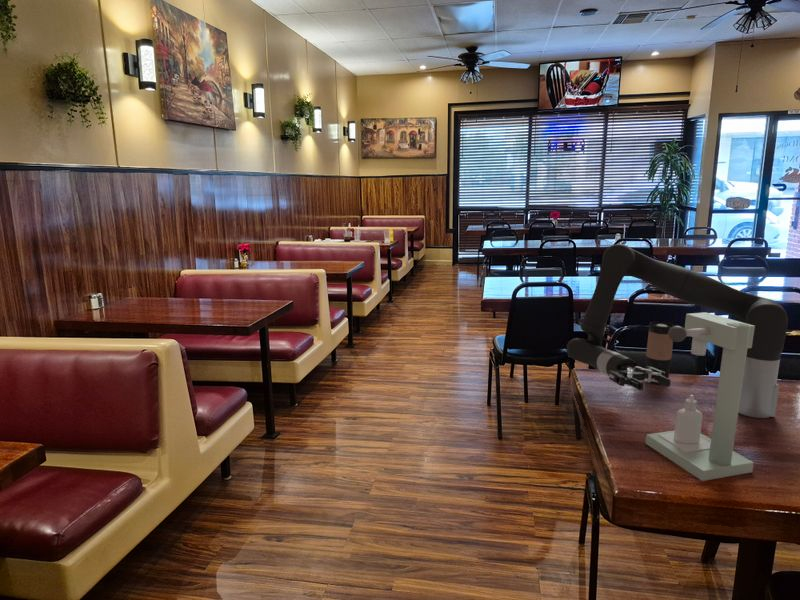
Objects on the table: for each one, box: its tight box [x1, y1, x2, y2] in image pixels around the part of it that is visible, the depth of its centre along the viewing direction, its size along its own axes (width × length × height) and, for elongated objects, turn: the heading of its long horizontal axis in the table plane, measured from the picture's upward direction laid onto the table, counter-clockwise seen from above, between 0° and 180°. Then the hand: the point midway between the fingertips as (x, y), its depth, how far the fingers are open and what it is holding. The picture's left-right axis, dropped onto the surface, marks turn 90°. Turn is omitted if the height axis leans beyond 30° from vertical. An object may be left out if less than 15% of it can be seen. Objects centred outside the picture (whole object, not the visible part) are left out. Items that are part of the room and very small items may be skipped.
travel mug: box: [644, 321, 675, 385], centre depth 171 cm, size 8×8×20 cm
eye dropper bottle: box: [673, 394, 703, 444], centre depth 125 cm, size 4×6×12 cm
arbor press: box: [645, 312, 755, 482], centre depth 120 cm, size 18×20×35 cm
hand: (655, 385), depth 136 cm, fingers open, 8 cm apart
